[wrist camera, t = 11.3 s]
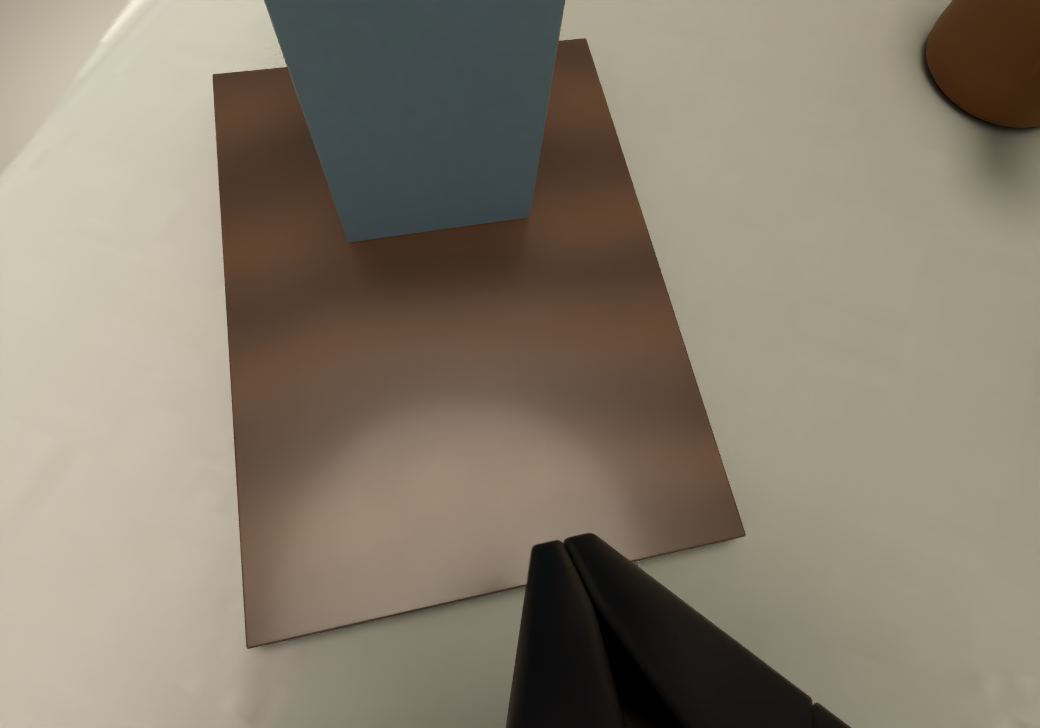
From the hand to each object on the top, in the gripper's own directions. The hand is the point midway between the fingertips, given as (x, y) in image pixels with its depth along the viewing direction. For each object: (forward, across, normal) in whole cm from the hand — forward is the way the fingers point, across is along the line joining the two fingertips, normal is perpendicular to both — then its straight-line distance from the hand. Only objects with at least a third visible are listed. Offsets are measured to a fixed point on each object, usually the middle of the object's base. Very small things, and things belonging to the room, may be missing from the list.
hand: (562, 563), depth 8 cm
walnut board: (+17, 0, +2) cm, 17 cm away
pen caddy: (+21, 0, -4) cm, 21 cm away
